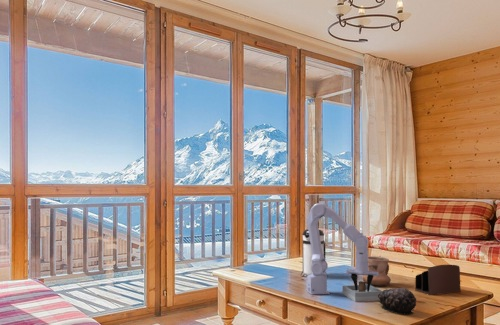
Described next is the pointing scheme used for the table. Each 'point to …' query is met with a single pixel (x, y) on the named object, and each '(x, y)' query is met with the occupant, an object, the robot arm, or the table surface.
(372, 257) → the ceramic jug
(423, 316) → the table surface
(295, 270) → the table surface
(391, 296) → the pine cone
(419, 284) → the letter holder
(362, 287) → the walnut peg
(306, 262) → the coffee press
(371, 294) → the slate box
